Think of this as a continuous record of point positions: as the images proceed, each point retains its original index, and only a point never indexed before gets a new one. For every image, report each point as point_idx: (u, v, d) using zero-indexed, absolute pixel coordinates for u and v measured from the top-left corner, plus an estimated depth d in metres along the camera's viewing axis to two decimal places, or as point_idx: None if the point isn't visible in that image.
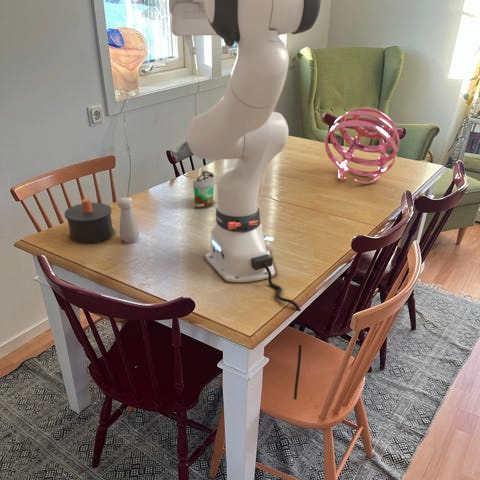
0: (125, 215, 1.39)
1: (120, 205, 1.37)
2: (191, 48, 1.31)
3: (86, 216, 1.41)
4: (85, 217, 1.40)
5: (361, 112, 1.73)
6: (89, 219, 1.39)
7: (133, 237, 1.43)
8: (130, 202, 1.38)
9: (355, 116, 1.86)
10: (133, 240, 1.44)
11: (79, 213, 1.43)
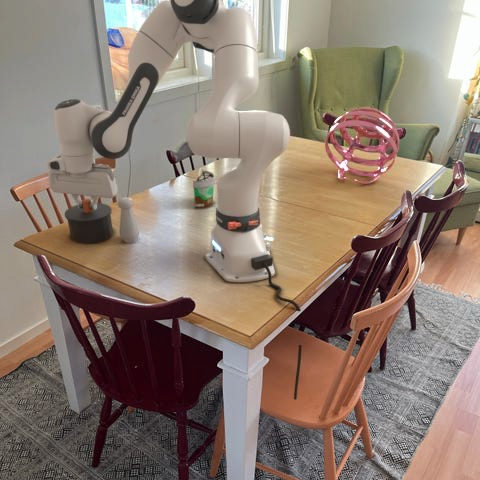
0: (125, 215, 1.39)
1: (120, 205, 1.37)
2: None
3: (86, 216, 1.41)
4: (85, 217, 1.40)
5: (361, 112, 1.73)
6: (89, 219, 1.39)
7: (133, 237, 1.43)
8: (130, 202, 1.38)
9: (355, 116, 1.86)
10: (133, 240, 1.44)
11: (79, 213, 1.43)
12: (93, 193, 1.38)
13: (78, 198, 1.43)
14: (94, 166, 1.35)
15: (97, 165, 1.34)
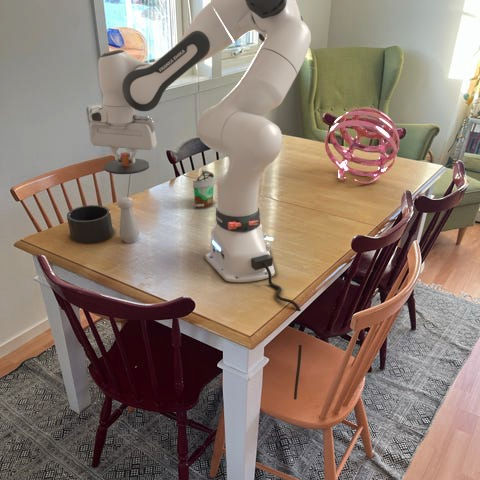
0: (125, 215, 1.39)
1: (120, 205, 1.37)
2: None
3: (125, 169, 1.44)
4: (124, 169, 1.43)
5: (361, 112, 1.73)
6: (129, 171, 1.42)
7: (133, 237, 1.43)
8: (130, 202, 1.38)
9: (355, 116, 1.86)
10: (133, 240, 1.44)
11: (118, 166, 1.46)
12: (133, 145, 1.41)
13: (117, 152, 1.46)
14: (135, 117, 1.37)
15: (138, 116, 1.37)
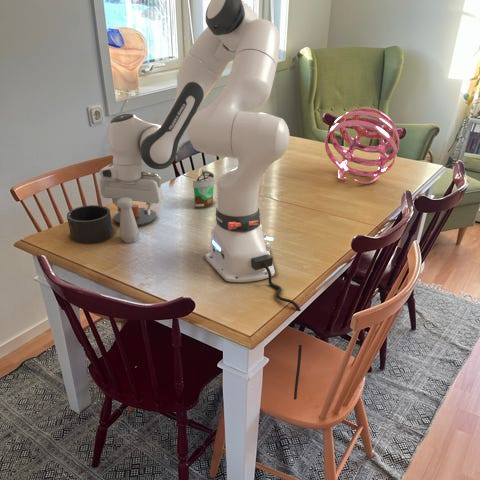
0: (125, 215, 1.39)
1: (120, 205, 1.37)
2: None
3: None
4: None
5: (361, 112, 1.73)
6: (138, 223, 1.53)
7: (133, 237, 1.43)
8: (130, 202, 1.38)
9: (355, 116, 1.86)
10: (133, 240, 1.44)
11: None
12: (141, 199, 1.51)
13: None
14: (143, 174, 1.47)
15: (146, 173, 1.47)
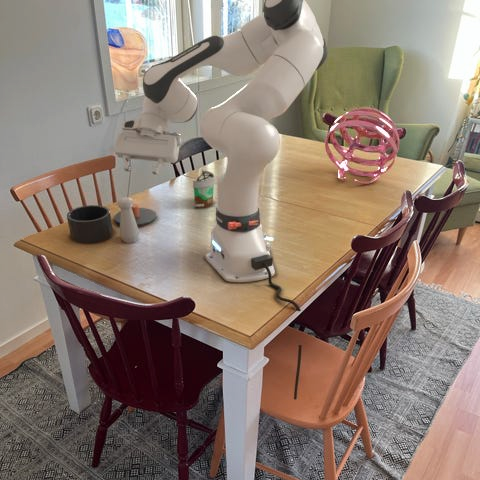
0: (125, 215, 1.39)
1: (120, 205, 1.37)
2: None
3: None
4: None
5: (361, 112, 1.73)
6: (138, 223, 1.53)
7: (133, 237, 1.43)
8: (130, 202, 1.38)
9: (355, 116, 1.86)
10: (133, 240, 1.44)
11: None
12: (155, 152, 1.43)
13: (127, 162, 1.46)
14: (165, 132, 1.45)
15: (168, 132, 1.45)
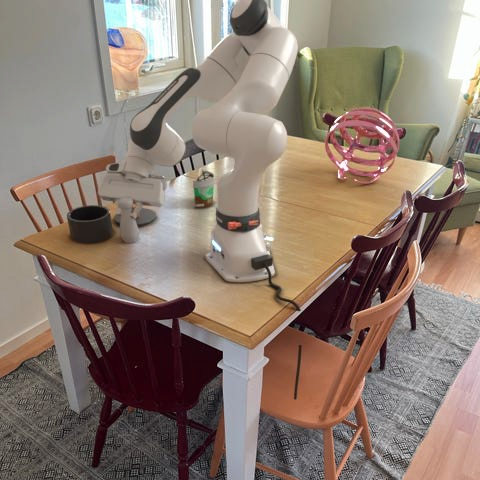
0: (125, 215, 1.39)
1: (120, 205, 1.37)
2: None
3: None
4: None
5: (361, 112, 1.73)
6: (138, 223, 1.53)
7: (133, 237, 1.43)
8: (130, 202, 1.38)
9: (355, 116, 1.86)
10: (133, 240, 1.44)
11: None
12: (140, 197, 1.39)
13: None
14: (151, 175, 1.41)
15: (154, 175, 1.41)
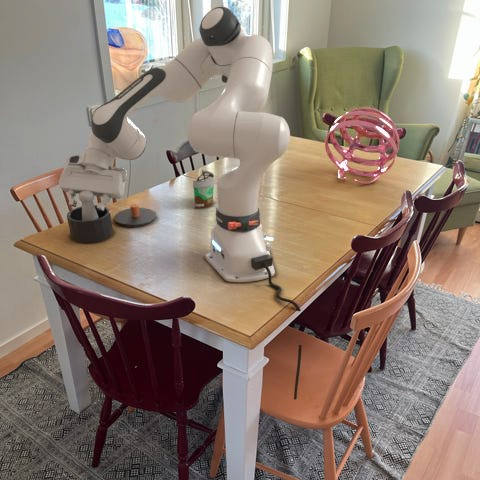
0: (86, 208, 1.42)
1: (81, 198, 1.40)
2: None
3: (134, 220, 1.54)
4: (134, 221, 1.54)
5: (361, 112, 1.73)
6: (138, 223, 1.53)
7: None
8: (90, 195, 1.41)
9: (355, 116, 1.86)
10: None
11: (127, 218, 1.56)
12: (99, 188, 1.41)
13: (72, 197, 1.45)
14: (110, 167, 1.43)
15: (114, 167, 1.43)
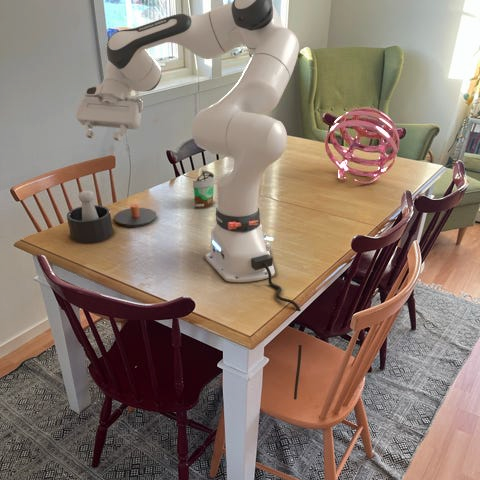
0: (86, 208, 1.42)
1: (81, 198, 1.40)
2: None
3: (134, 220, 1.54)
4: (134, 221, 1.54)
5: (361, 112, 1.73)
6: (138, 223, 1.53)
7: None
8: (90, 195, 1.41)
9: (355, 116, 1.86)
10: None
11: (127, 218, 1.56)
12: (116, 118, 1.43)
13: (89, 128, 1.47)
14: (127, 99, 1.45)
15: (130, 98, 1.45)
